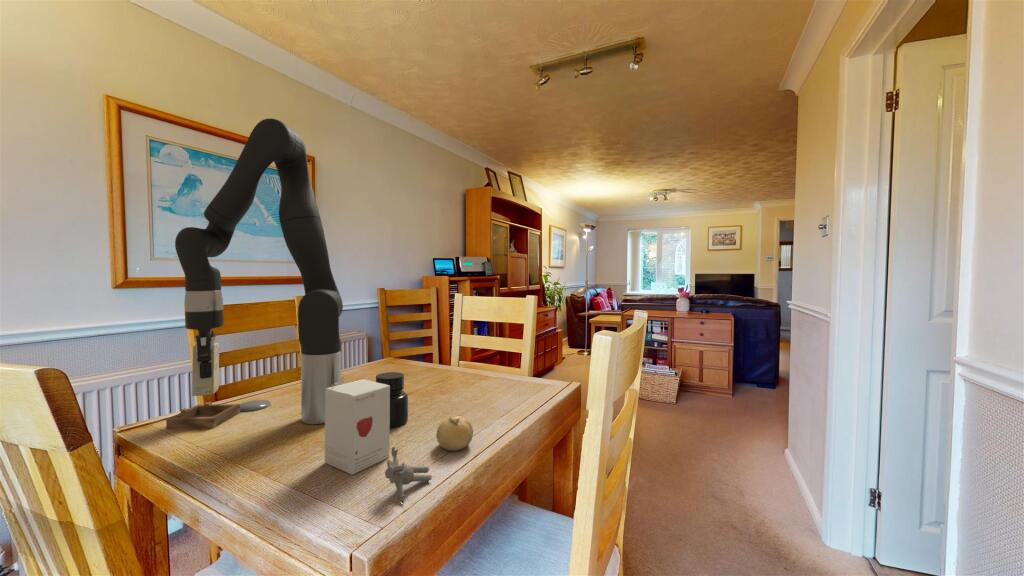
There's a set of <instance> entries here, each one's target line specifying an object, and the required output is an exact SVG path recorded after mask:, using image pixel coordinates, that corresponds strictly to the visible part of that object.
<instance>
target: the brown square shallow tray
mask: <svg viewBox="0 0 1024 576" xmlns="http://www.w3.org/2000/svg"><path fill="white" fill-rule="evenodd" d="M240 404H241V403H226V404H225V403H224V404H221V403H218V404H213V402H212V401H207V402H205V403H204V404H196V405H195V406H192V407H190V408H189V407H188V408H186V407H185V408H182V409H180V413H177V414H175V415H173V416H171V417H168V418H166V427H165V428H166V430H192V429H193V430H196V429H198V430H199V429H202V430H203V429H204V430H205V429H215V428H217V427H219V426H220V425H222V424H224V423H225V422H227V421H228V419H229V420H230V419H232V418H234V417H235V415H236V416H237V415H239V414H241V412H240ZM200 416H201V417H200ZM233 416H234V417H233ZM223 422H224V423H223Z"/></svg>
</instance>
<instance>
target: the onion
mask: <svg viewBox="0 0 1024 576" xmlns="http://www.w3.org/2000/svg"><path fill="white" fill-rule="evenodd" d="M436 429H437V430H436V435H435V436H436V442H438V444H439V446H440V447H441V448H443V449H444V450H447V451H459V450H463V449H465V448H466V447H468V446H469V445H470V443H471V442H472V439H473V437H474V435H473V434H474V429H473V426H472V423H471V422H470V421H469V420H468V419H467V418H464V417H463V416H460V415H456V416H449V417H447V418H446V419H444V420H442V421H441V423H440V424H439V426H438V427H437V428H436Z"/></svg>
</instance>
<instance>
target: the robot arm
mask: <svg viewBox="0 0 1024 576" xmlns="http://www.w3.org/2000/svg"><path fill="white" fill-rule="evenodd" d="M307 155H308V154H307V149H306V145H305V142H304V140H303V138H302V136H301V135H300V134H299V132H298V131H296V130H294V128H292V127H290V126H289V125H287V124H285V123H284V122H283V121H281V120H278V119H275V118H264V119H262V120H260V121H259V122H258V123H256V125H255V126H254V127H253V129H252V131H251V132H250V134H249V136H248V138H247V140H246V142H245V144H244V147H243V148H242V151H241V153H240V154H239V157H238V158H237V161H236V162H235V165H234V167H233V169H232V170H231V171H230V174H229V176H228V177H227V180H226V181H225V182H224V184H223V185H222V187H221V188H220V189H219V191H218V192H217V193H216V194H215V196H214V197H213V199H212V200H211V201H210V202H209V203H208V204H207V207H205V209H204V211H203V216H204V218H205V219H206V221H208V222H209V223H208V224H207V226H206V227H205V228H201V227H200V228H199V227H194V226H193V227H192V226H190V227H184V228H182V229H181V230H180V231H179V232H178V233H177V234H176V237H175V242H174V247H175V251H176V255H177V256H178V260H179V263H180V266H181V269H182V271H183V274H184V292H185V293H184V300H183V301H184V304H183V305H184V326H185V329H187V330H196V331H198V335H195V336H194V343H195V345H196V354H197V355H198V359H197V361H198V362H199V366H200V378H201V379H205V378H210V377H211V376H212V371H211V362H212V356H211V354H212V353H213V352H214V347H210V346H214V344H215V343H216V341H217V335H216V333H214V331H213V330H212V329H217V328H222V327H224V324H225V321H224V298H223V293H222V275H221V271H220V270H219V268H217V267H214V266H212V265H211V264H210V261H209V258H216V257H219V256H220V255H222V254H223V253H224V252H225V251H227V249H228V247H229V245H230V243H231V242H232V241H231V240H232V238H233V235H234V233H235V230H236V227H237V225H239V223H240V222H241V220H243V218H244V216H245V215H246V213H247V212H248V211H249V210H250V208H251V206H252V204H253V202H254V200H255V198H256V197H255V196H256V194H257V193H256V192H257V188H258V186H259V182H260V180H261V178H262V176H263V175H264V172H265V171H266V170H267V169H268V167H269V166H271V164H273V163H274V165H275V168H276V170H277V174H278V178H279V182H280V188H281V191H280V198H279V199H280V200H279V205H278V218H279V220H278V221H279V224H280V227H281V232H282V235H283V239H284V242H285V245H286V247H287V249H288V251H289V254H290V255H291V257H292V259H293V261H294V262H295V264H296V267H297V268H298V270H299V273H300V276H301V279H302V283H303V289H304V295H303V296H302V297H301V299H300V301H299V304H298V308H297V325H298V327H297V328H298V342H299V344H300V349H301V350H300V352H301V353H300V354H301V355H300V358H301V359H300V360H301V361H300V362H301V363H300V364H301V365H300V369H301V370H300V371H301V374H300V375H301V377H300V379H301V380H300V382H301V383H300V387H301V390H300V391H301V393H300V394H301V395H300V397H301V402H300V404H301V406H300V407H301V409H300V415H301V420H300V421H301V423H303V424H308V425H319V424H325V389H326V388H330V387H334V386H338V385H342V384H345V379H344V378H343V377H342V340H341V338H340V321H339V319H340V316H341V315H342V313H343V309H344V305H343V303H344V302H343V299H342V297H341V294H340V291H339V289H338V286H337V283H336V281H335V278H334V275H333V272H332V269H331V264H330V258H329V252H328V246H327V242H326V237H325V231H324V227H323V222H322V220H321V219H322V218H321V216H320V212H319V209H318V205H317V200H316V197H315V193H314V190H313V187H312V182H311V177H310V171H309V163H308V157H307ZM207 353H208V356H205V357H201V355H202V354H207Z"/></svg>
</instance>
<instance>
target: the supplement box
mask: <svg viewBox="0 0 1024 576" xmlns="http://www.w3.org/2000/svg"><path fill="white" fill-rule="evenodd" d="M390 429H391V428H390V385H386V384H382V383H377V382H376V381H372V380H368V379H365V378H364V379H359V380H355V381H351V382H346V383H345V382H344V384H342V385H338V386H334V387H330V388H326V389H325V423H324V463H325V464H327V465H329V466H332V467H334V468H335V469H338V470H340V471H342V472H346V473H347V474H349V475H351V476H352V475H355V474H357V473H359V472H362V471H363V470H366V469H368V468H370V467H371V466H373V465H376V464H377V463H378V464H379V463H381V462H382V461H384V460H386V459H389V458H390Z"/></svg>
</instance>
